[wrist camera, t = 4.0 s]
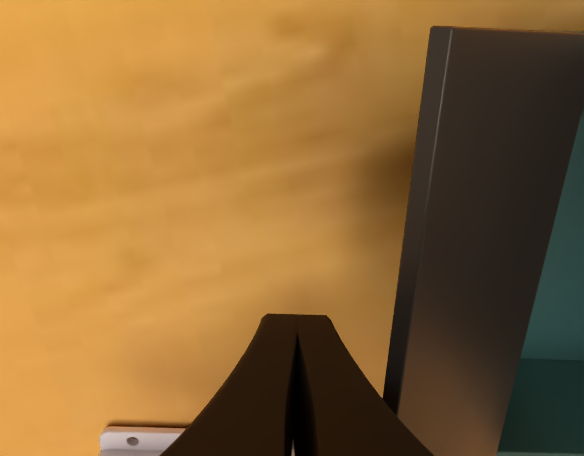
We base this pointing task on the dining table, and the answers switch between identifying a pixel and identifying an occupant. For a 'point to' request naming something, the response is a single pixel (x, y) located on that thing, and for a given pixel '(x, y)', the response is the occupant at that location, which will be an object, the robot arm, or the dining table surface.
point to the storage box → (554, 337)
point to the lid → (478, 226)
